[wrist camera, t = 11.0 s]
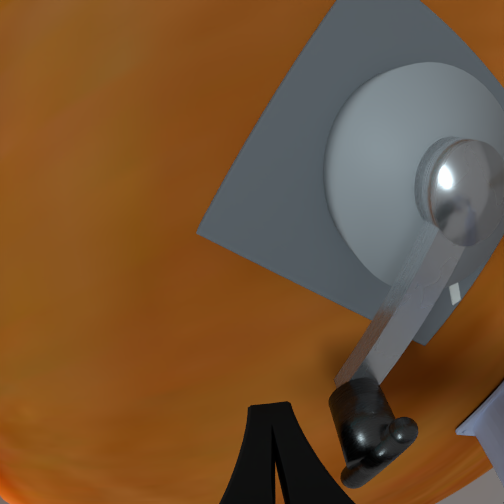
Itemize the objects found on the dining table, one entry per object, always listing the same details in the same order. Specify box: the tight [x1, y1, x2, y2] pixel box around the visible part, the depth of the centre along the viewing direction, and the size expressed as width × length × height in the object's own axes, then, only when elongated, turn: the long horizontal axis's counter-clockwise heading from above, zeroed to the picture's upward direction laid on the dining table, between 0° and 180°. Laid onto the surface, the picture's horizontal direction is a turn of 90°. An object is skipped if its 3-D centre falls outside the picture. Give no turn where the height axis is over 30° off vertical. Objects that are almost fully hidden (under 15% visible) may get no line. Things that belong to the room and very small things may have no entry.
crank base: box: [197, 0, 504, 346], centre depth 10 cm, size 12×12×2 cm
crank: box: [329, 136, 504, 489], centre depth 8 cm, size 11×3×4 cm, turn 160°
